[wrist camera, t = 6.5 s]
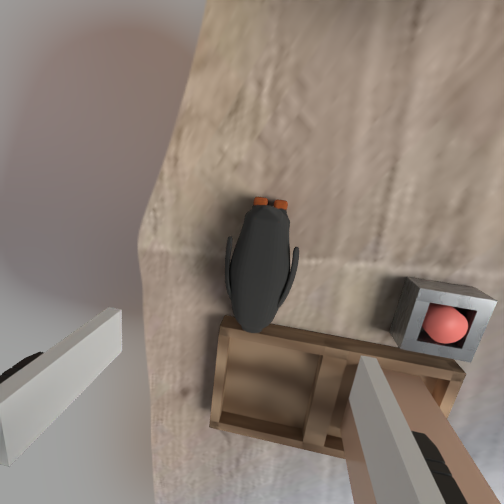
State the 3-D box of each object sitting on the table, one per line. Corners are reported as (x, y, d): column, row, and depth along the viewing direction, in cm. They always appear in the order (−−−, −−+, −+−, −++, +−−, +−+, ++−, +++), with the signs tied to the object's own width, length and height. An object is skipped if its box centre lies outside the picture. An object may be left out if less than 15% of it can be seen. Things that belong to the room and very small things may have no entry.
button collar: (406, 276, 29) (420, 288, 26) (475, 287, 29) (497, 301, 25) (389, 332, 31) (399, 349, 28) (453, 343, 31) (471, 362, 27)
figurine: (242, 198, 32) (224, 317, 34) (224, 184, 22) (201, 355, 24) (304, 207, 31) (283, 328, 33) (313, 197, 22) (283, 372, 23)
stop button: (420, 295, 29) (434, 308, 26) (455, 301, 29) (473, 314, 26) (410, 324, 30) (423, 339, 27) (444, 330, 30) (460, 346, 27)
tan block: (358, 364, 32) (411, 515, 18) (419, 376, 31) (526, 544, 17) (339, 428, 35) (373, 603, 21) (395, 440, 34) (470, 630, 20)
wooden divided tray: (225, 315, 34) (219, 326, 31) (452, 357, 31) (466, 373, 28) (214, 411, 38) (209, 427, 36) (412, 455, 35) (422, 476, 33)
